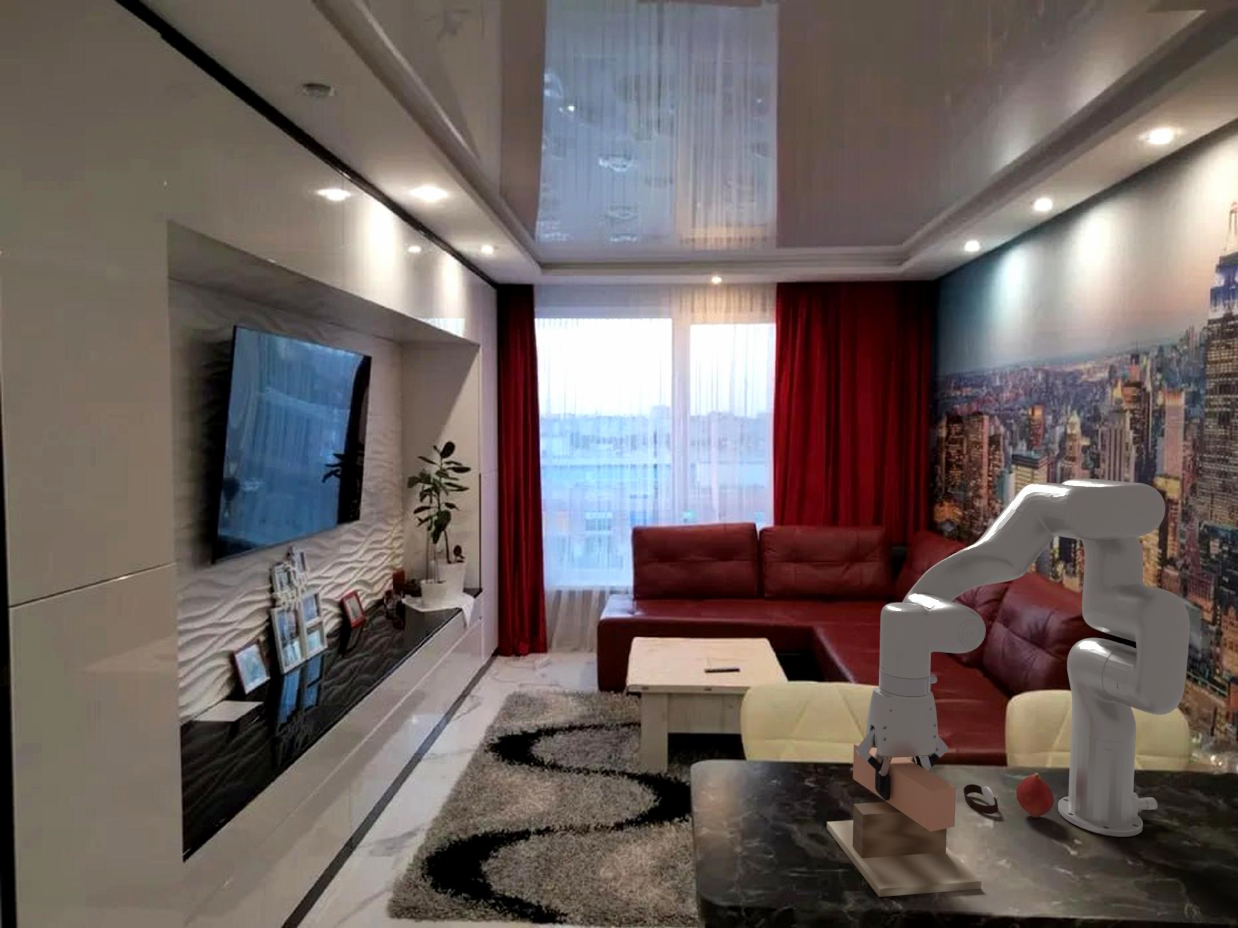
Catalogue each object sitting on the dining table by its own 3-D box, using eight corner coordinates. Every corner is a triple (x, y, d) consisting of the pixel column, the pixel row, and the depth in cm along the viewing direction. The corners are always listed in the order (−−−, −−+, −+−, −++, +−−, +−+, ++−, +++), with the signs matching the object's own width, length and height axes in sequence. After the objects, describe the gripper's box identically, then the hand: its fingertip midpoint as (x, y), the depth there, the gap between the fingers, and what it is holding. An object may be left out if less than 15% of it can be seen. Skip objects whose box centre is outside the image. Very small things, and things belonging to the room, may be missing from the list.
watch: (1005, 816, 136) (1006, 796, 136) (981, 817, 136) (982, 797, 135) (979, 795, 144) (979, 776, 144) (955, 796, 143) (956, 777, 143)
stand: (915, 822, 133) (916, 776, 133) (980, 888, 115) (982, 834, 114) (826, 828, 131) (828, 781, 131) (879, 896, 112) (880, 841, 112)
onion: (1008, 812, 137) (1009, 768, 137) (1030, 806, 140) (1032, 762, 139) (1037, 828, 132) (1039, 782, 132) (1060, 821, 134) (1062, 776, 134)
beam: (874, 774, 132) (875, 740, 131) (954, 826, 115) (955, 786, 114) (852, 778, 130) (853, 743, 130) (930, 831, 113) (931, 791, 113)
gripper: (941, 673, 126) (938, 781, 127) (842, 677, 124) (839, 787, 125) (968, 688, 119) (964, 803, 120) (863, 693, 117) (860, 810, 117)
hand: (901, 794), depth 122 cm, fingers closed on beam, 5 cm apart
